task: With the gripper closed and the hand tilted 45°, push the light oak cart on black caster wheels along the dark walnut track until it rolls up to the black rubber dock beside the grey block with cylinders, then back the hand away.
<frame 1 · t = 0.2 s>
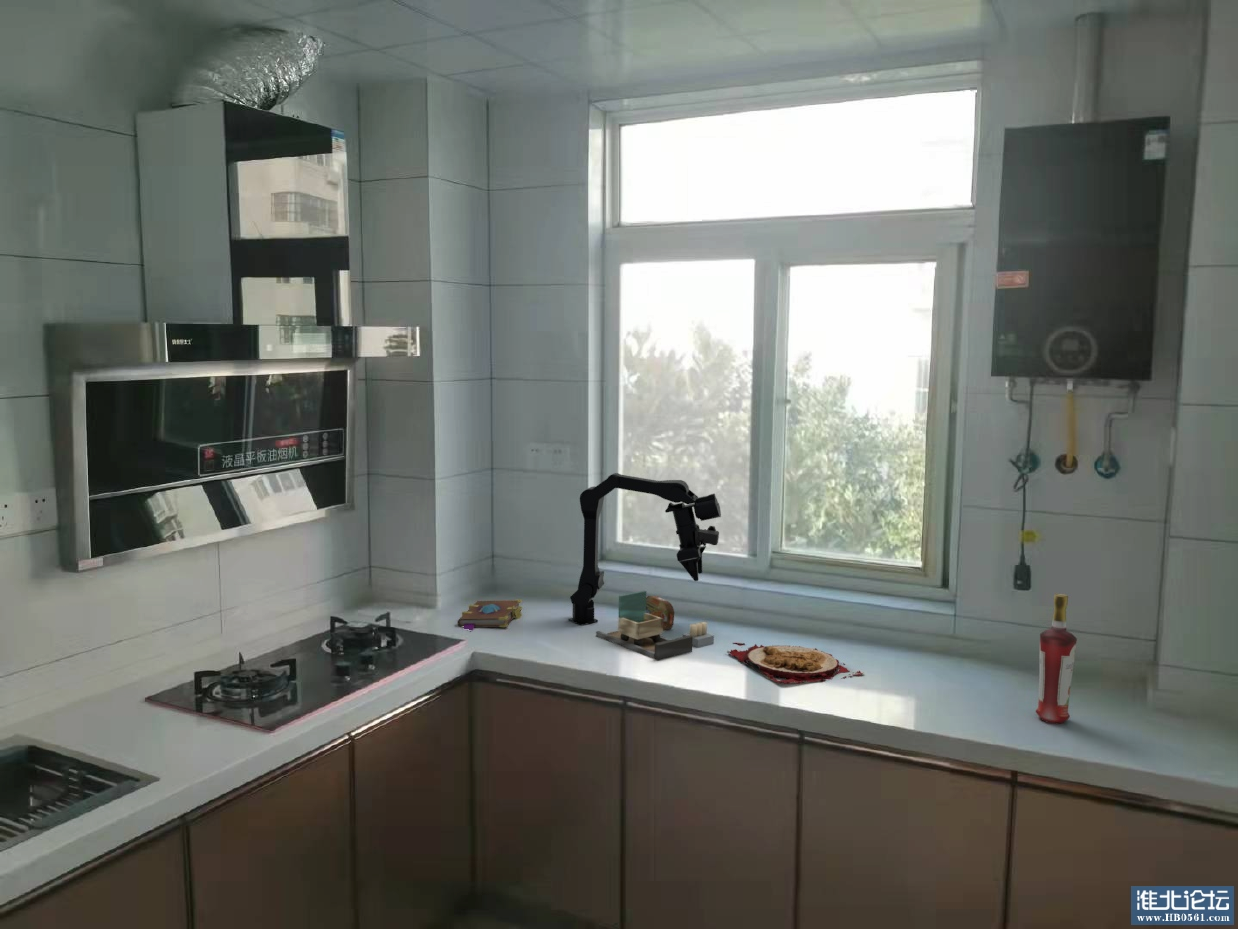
hand: (698, 577, 271), 16 cm above the worktop, fingers open, 9 cm apart
cart: (640, 618, 256), point 7 cm above the worktop, slide at 0.0 cm
liquor: (1052, 720, 209), on the worktop
tin: (658, 627, 275), on the worktop
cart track: (642, 646, 257), on the worktop
book: (491, 622, 279), on the worktop
plate with food: (793, 667, 244), on the worktop
grey block with cylinders: (697, 645, 258), on the worktop
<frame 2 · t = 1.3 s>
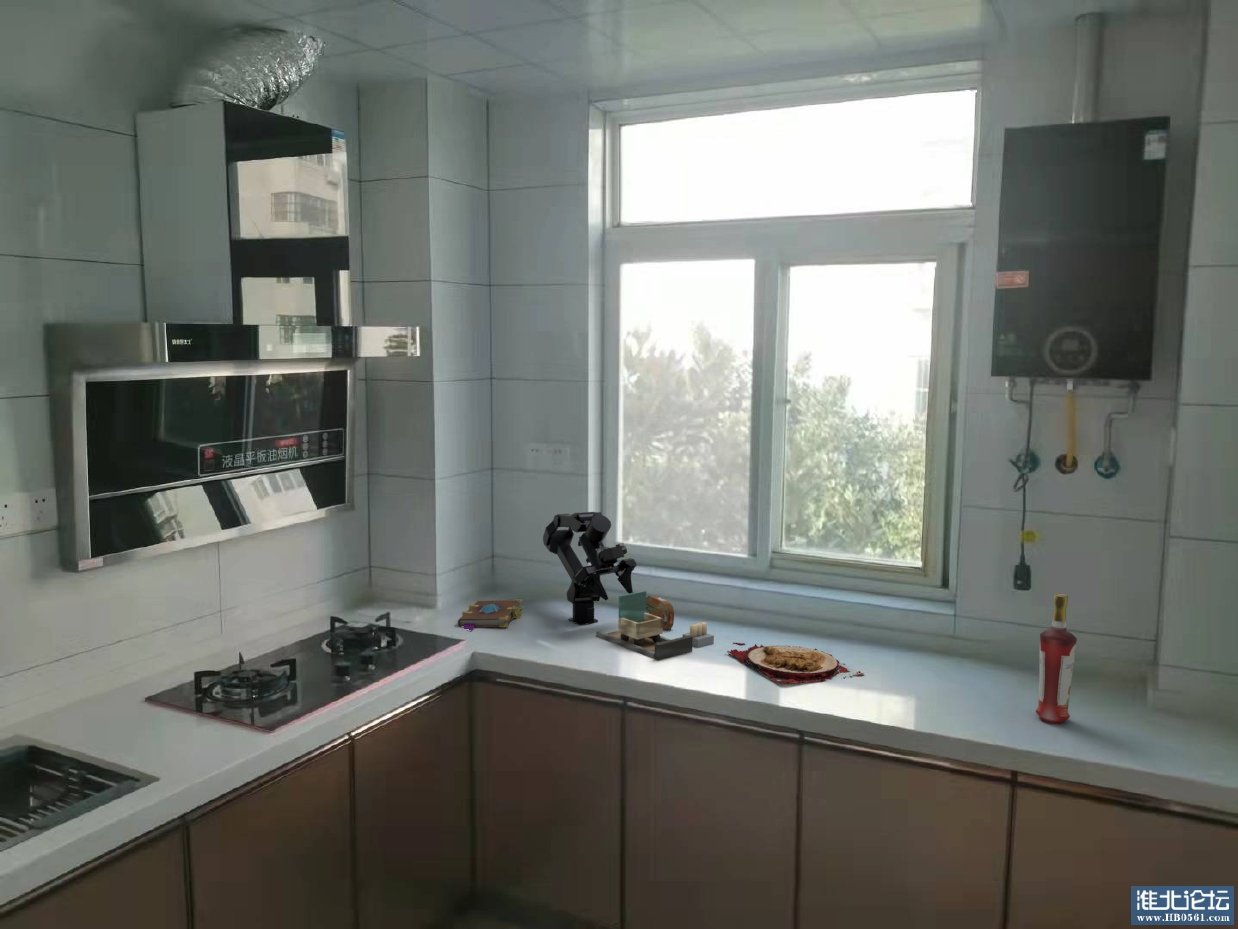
hand: (619, 597, 263), 11 cm above the worktop, fingers open, 9 cm apart
nothing on the worktop moved.
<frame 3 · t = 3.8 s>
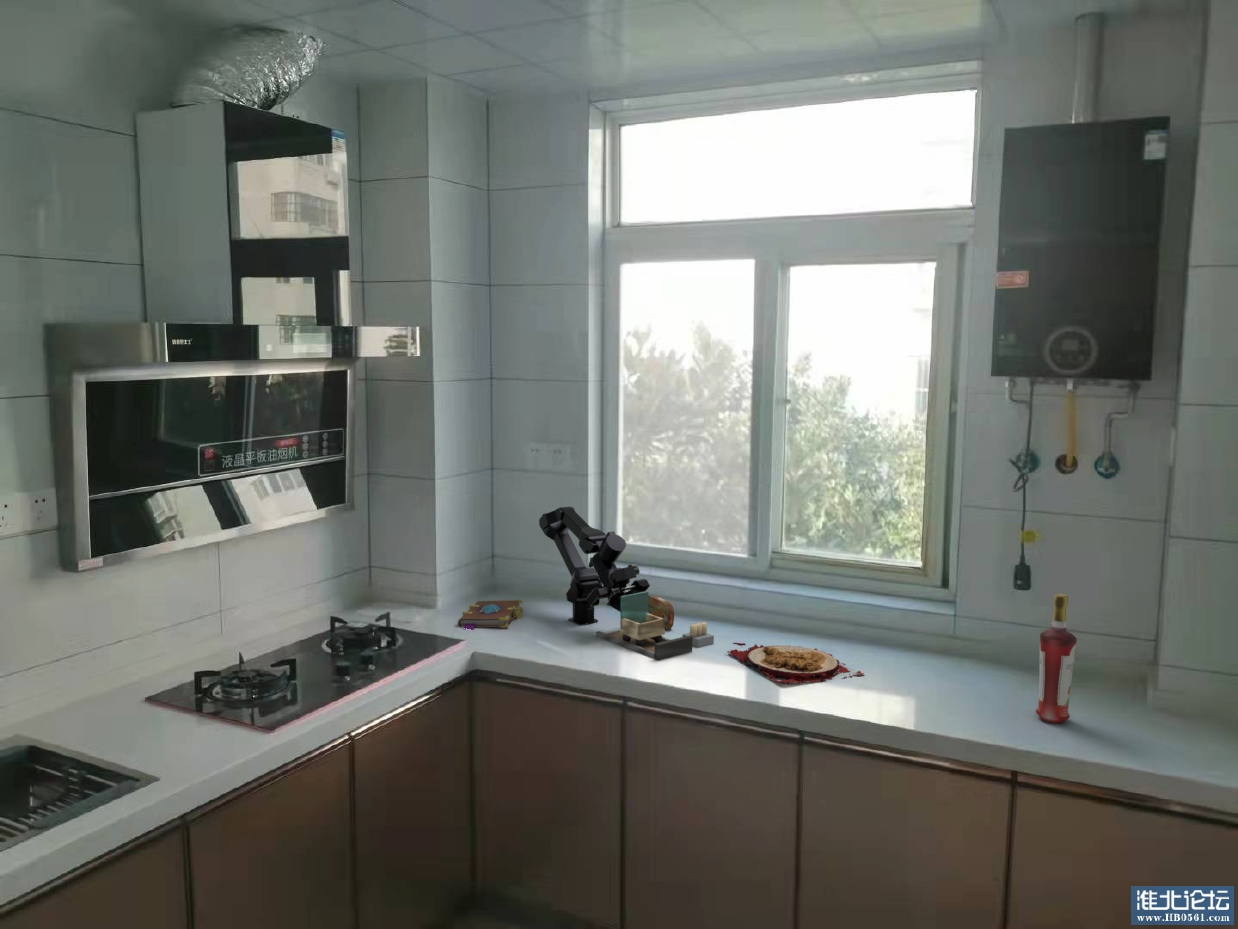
hand: (632, 618, 259), 7 cm above the worktop, fingers closed, pressing on cart
cart: (642, 619, 256), point 7 cm above the worktop, slide at 0.8 cm, touching gripper
everything else where it was.
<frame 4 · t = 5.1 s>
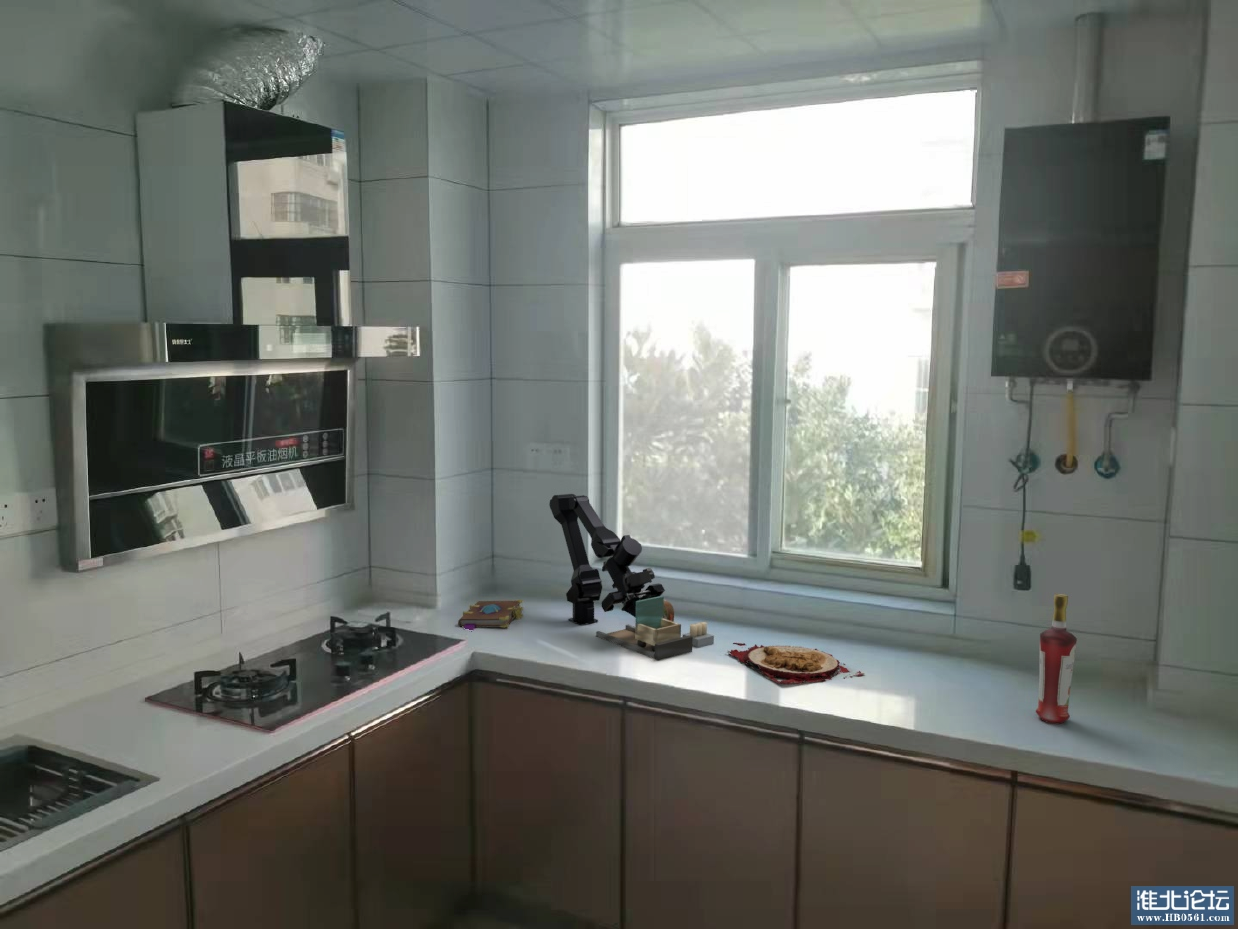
hand: (647, 623, 254), 7 cm above the worktop, fingers closed
cart: (658, 625, 251), point 7 cm above the worktop, slide at 7.1 cm
everything else where it was.
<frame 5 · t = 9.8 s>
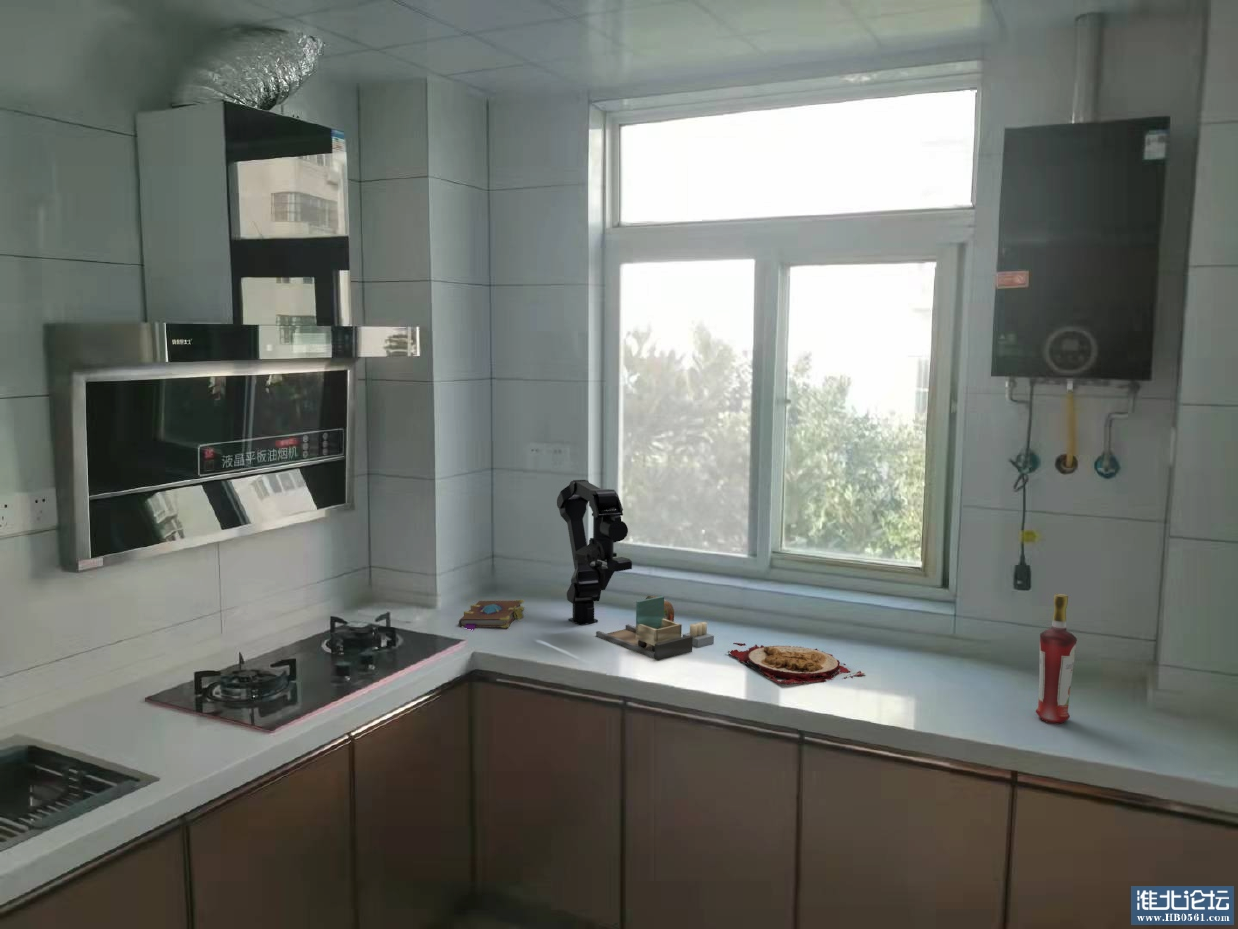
hand: (602, 589, 264), 13 cm above the worktop, fingers closed
nothing on the worktop moved.
at the end: cart slide at 7.3 cm; tin moved 0.3 cm from its start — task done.
